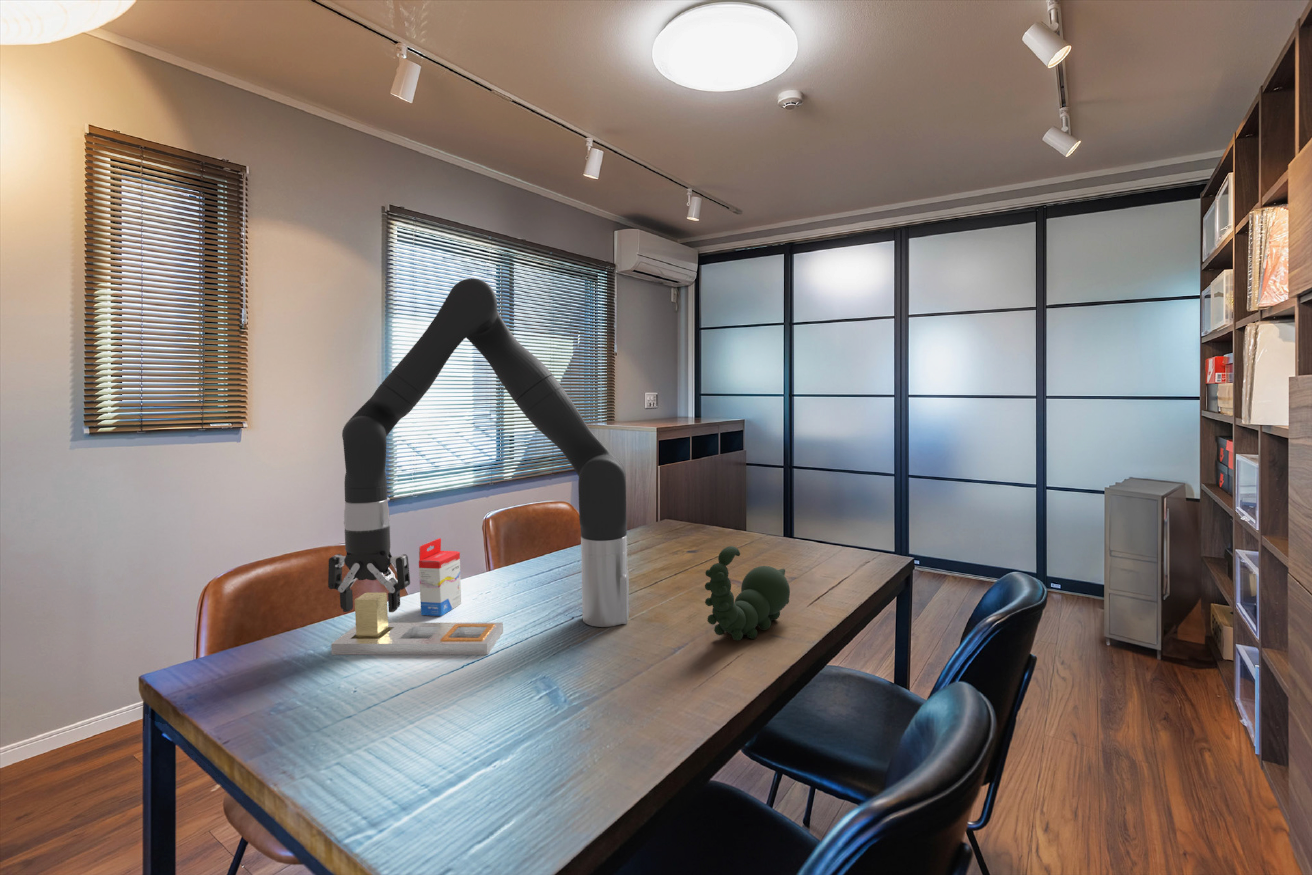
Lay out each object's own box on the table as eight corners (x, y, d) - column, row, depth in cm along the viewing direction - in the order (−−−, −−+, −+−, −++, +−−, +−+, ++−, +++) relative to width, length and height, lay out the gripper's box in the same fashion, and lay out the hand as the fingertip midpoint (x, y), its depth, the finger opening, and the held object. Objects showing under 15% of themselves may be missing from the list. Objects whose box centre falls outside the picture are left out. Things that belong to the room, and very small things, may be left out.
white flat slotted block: (503, 632, 118) (502, 621, 118) (487, 654, 108) (486, 642, 108) (360, 632, 119) (359, 621, 119) (331, 654, 109) (331, 642, 109)
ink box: (441, 617, 127) (438, 547, 126) (420, 615, 128) (417, 546, 127) (462, 603, 135) (459, 537, 134) (442, 602, 136) (439, 537, 135)
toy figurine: (739, 664, 107) (806, 612, 125) (733, 560, 104) (803, 522, 123) (696, 650, 113) (766, 602, 131) (689, 551, 110) (762, 516, 129)
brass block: (388, 639, 116) (386, 592, 115) (378, 647, 112) (376, 599, 111) (367, 639, 116) (365, 592, 115) (356, 647, 112) (354, 599, 111)
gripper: (414, 520, 116) (416, 604, 117) (340, 520, 117) (343, 603, 118) (396, 529, 109) (399, 618, 110) (317, 528, 109) (321, 617, 110)
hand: (370, 610), depth 114 cm, fingers open, 8 cm apart
